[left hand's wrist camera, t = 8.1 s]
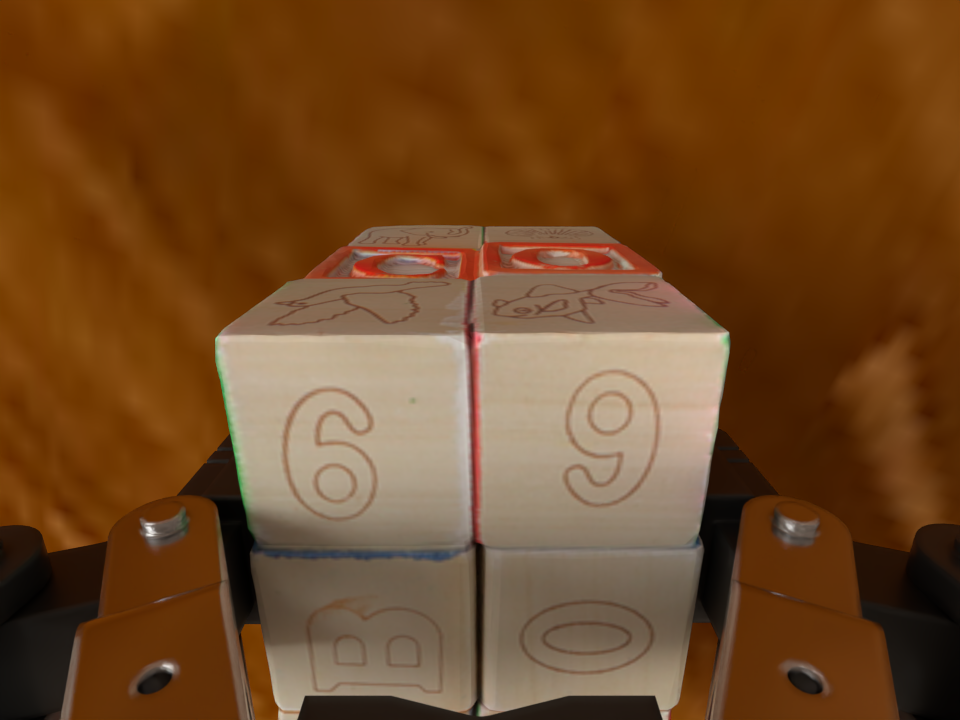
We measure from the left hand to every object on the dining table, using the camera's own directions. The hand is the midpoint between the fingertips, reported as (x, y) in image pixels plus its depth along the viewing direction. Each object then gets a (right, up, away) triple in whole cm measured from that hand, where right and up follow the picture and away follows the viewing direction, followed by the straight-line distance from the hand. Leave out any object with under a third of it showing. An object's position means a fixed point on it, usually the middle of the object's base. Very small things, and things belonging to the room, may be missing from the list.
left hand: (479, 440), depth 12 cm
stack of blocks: (0, -5, +7) cm, 9 cm away
